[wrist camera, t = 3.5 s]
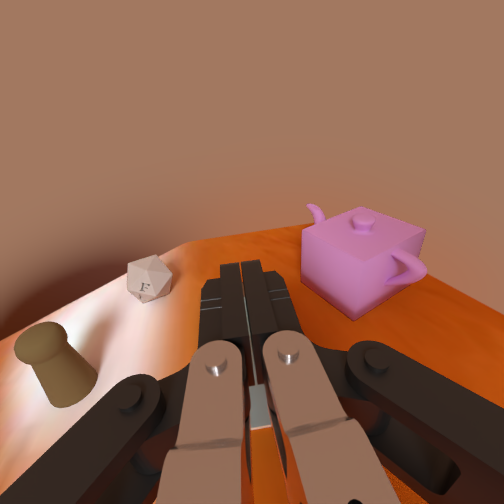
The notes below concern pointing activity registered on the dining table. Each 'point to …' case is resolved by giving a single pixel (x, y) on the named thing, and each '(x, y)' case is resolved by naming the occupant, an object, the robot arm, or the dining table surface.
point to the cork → (56, 364)
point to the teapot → (360, 258)
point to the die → (148, 279)
